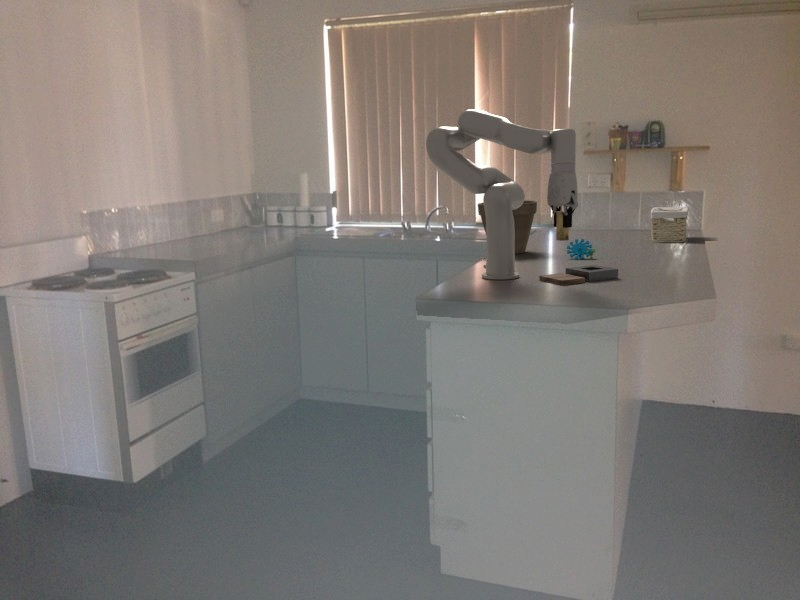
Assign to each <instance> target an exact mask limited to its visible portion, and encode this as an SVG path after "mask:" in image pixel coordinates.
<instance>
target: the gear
mask: <svg viewBox="0 0 800 600" xmlns="http://www.w3.org/2000/svg"><path fill="white" fill-rule="evenodd" d="M574 243H575V244H574ZM566 249H567V250H566V254H567V255H569V258H571V259H572V258H573V257H574V260H575V261H576V260H577V261H578V260H579V258H580V260H585V256H586V258H588V257H590V259H593V255H594V254H595V253H596V249H595V248H593V244H590V240H586V241H585V239H584V238H581V239H580V241H579V239H577V238H575V239H574V242H573V241H570V242H569V245H567V246H566ZM584 255H585V256H584Z"/></svg>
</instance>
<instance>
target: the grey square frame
mask: <svg viewBox="0 0 800 600" xmlns="http://www.w3.org/2000/svg"><path fill="white" fill-rule="evenodd" d="M565 274H568V275H573V276H578V277H583V278H585V282H596V281H597V282H598V281H604V280H605V281H606V280H612V279H614V278H615V279H619V269H618V268H613V267H609V266H602V265H596V264H591V265H580V266H573V267H572V266H571V267H565Z"/></svg>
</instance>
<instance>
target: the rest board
mask: <svg viewBox="0 0 800 600" xmlns="http://www.w3.org/2000/svg"><path fill="white" fill-rule="evenodd" d="M538 279H539V281H541V282H545V281H546V283H550V284H555V285H559V286H567V285H575V284H576V285H577V284H584V283H586V281H585V278H583V277H578V276H573V275H568V274H566V273H562V272H561V273H552V274H544V275H542V274H541V275H539V278H538Z"/></svg>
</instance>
